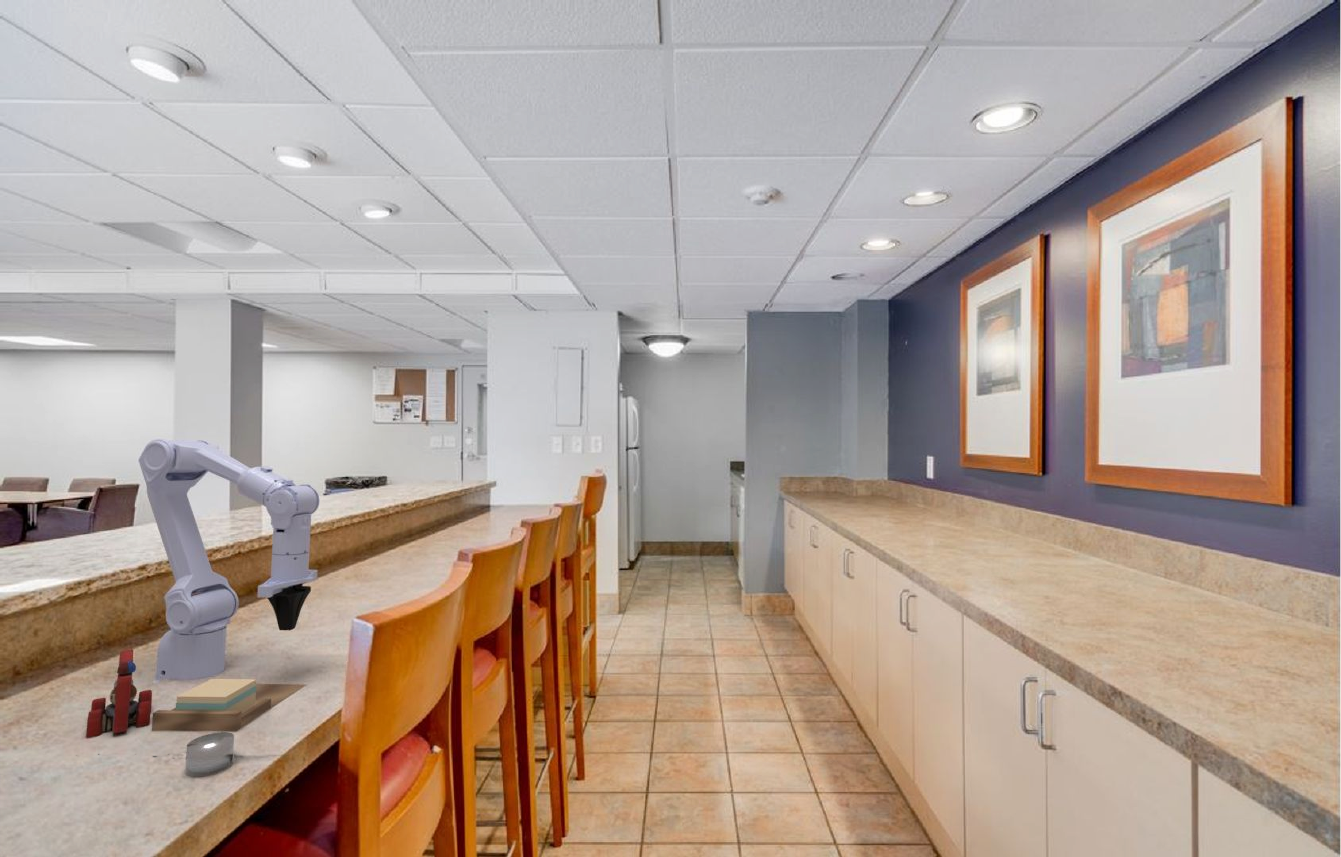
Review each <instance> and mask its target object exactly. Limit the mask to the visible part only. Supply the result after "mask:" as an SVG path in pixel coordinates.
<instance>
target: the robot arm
mask: <svg viewBox="0 0 1341 857" xmlns="http://www.w3.org/2000/svg"><path fill="white" fill-rule="evenodd" d="M138 462H139V465H140V469H141V472H142V475H143V479H144V482H145V484H146V494H147V498H148V501H149V505H150V508H151V510H152V513H153V517H154V521H155V523H156V526H157V528H158V532H159V535H160V539H161V541H162V544H163V547H164V551H165V553H166V557H167V560H168V562H169V566H170V569H171V573H172V575H173V578H174V581H175V583H174V585H172V587H171V588H170V589H169V590H168V591H167V593H166V594H164V596H163V599H164V602H165V620H166V623H167V625H168V627H169V628H170V629H169V630H168V631H167V632H166V633H164V634H163V636H162V637H161V639H160V641H159V643H158V646H157V652H156V653H157V654H156V655H157V656H156V657H157V658H156V672H155V673H156V674H155V680H154V681H152V683H151V685H153V684H156V683H158V682H160V681H162V680H164V679H165V680H179V681H195V680H201V679H206V678H210V677H213V676H216V675H219V674H221V673H222V672H224V671H225V664H226V663H225V662H226V643H227V639H226V638H227V628H228V627H227V625H229V624H231V619H232V617H234V616H235V615H236V614H237V612H238V610H239V605H240V603H239V602H240V600H239V597H238V595H237V593H236V591H235V590H234V589H233V588H232V587H231V585H230V584H229V582H228V578H226V577H224V576H223V575H221V574H219V573H217V572H215V571H213V569H212V567H211V564H210V560H209V557H208V554H207V552H206V548H205V545H204V542H203V539H202V536H201V534H200V530H199V527H198V524H197V521H196V518H195V516H194V512H193V508H192V507H191V503H190V500H189V497H188V492H189V491H190V490H191V488H193V487H195V486H196V485H197V483H199V482H200V481H201V480H202V479H203V478H204V476H206V474H207V473H208V472H209V473H211V474H213V475H216V476H218V477H219V478H222V479H225V480H227V481H229V482H231V483H234V484H237V490H238V492H239V494H240V495H243V496H244V497H246V498H248V499H250V500H252V501H254V502H256V503H258V504H259V505H261V506H264V507H265V508H266V511H267V513H268V515H269V516H270V525H271V527H272V530H273V531H272V547H271V564H270V565H271V566H270V578H268V580H266V581H264V583H262V584H259V585H258V586H257V598H259V599H260V598H261V599H263V598H264V599H265V598H266V599H267V600H268V601H269V603H270V605H271V607H272V609H273V611H274V614H275V617H276V623H277V626H278V629H279V631H292V630H294V629H296V626H297V623H298V620H299V617H300V614H301V610H302V608H303V606H304V603H305V601H306V600H307V598H308V596H309V595H310V593H311V591H312V586H309V585H303V584H306V583H311V582H315V581H317V580H318V569H310V568H309V565H310V548H311V528H312V527H311V526H312V515H313V514H314V513H315V512H317V510H318V509H319V505H320V495H319V492H318V491H317V490H316V489H315V488H314V487H312V486H311V485H310V484H308V483H306V484H304V483H303V484H299V485H297V484H295V483H294V480H293V479H291V478H290V477H289V478H288V477H286V478H284V477H282V476H281V475H279V474H276V473H275V472H273V471H274V470H273V468H272V467H270V466H265V465H264V466H255V467H248V466H247V465H245V464H244V463H242V462H240V461H239V460H237V459H235V458H234V457H232V456H230V455H229V454H227V453H226V452H223V451H222V450H220V448H219V446H218V445H216V444H211V443H210V442H209V441H208V440H203V439H202V440H199V439H198V440H167V439H162V438H158V439H153V440H151V441H149V442H148V443H147V444H146V445H145V447H144V449H143V451H142V452H141V455H140V456H139V458H138Z"/></svg>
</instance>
